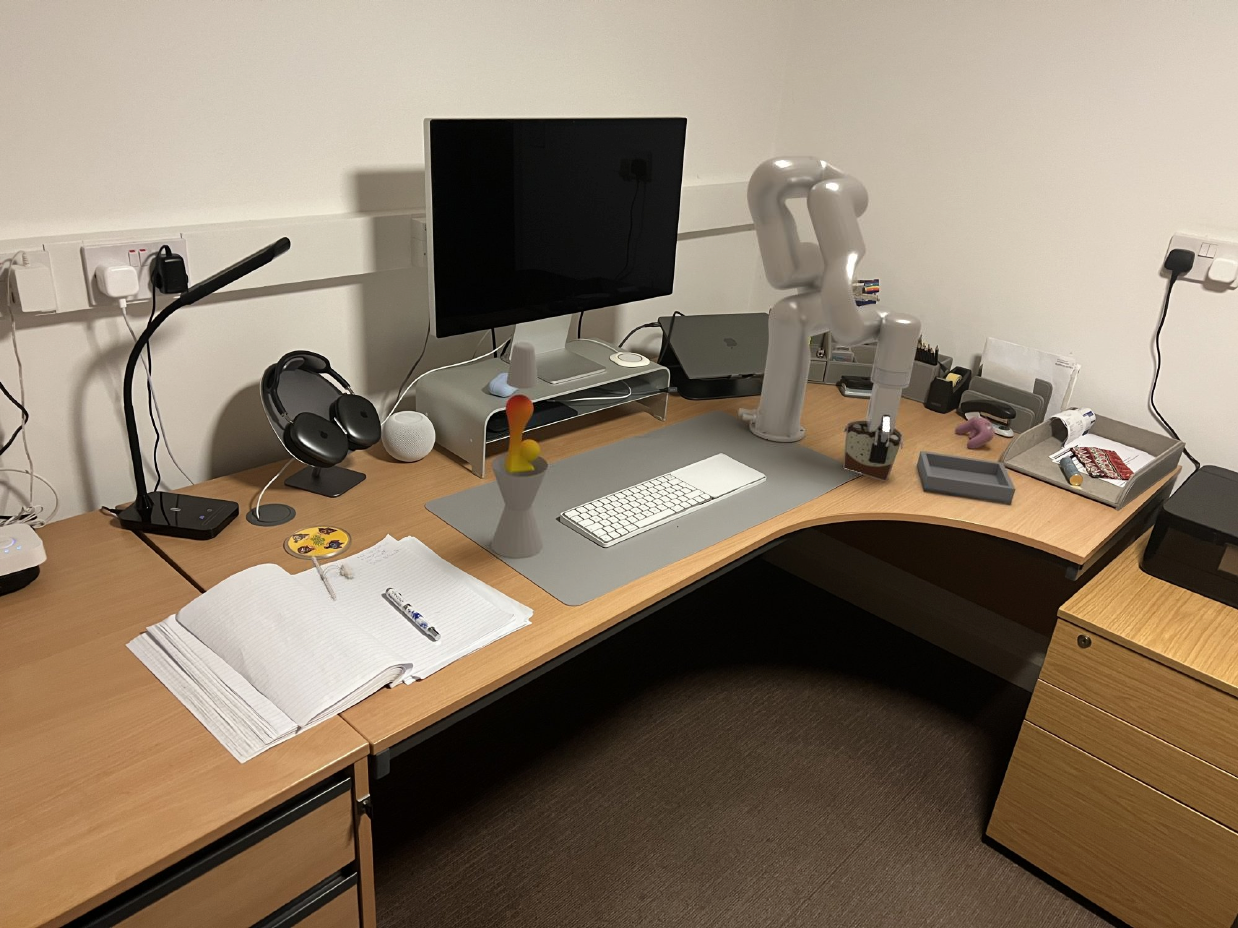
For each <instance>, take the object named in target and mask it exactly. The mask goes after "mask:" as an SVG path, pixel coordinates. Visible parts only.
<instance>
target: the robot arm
mask: <svg viewBox="0 0 1238 928" xmlns="http://www.w3.org/2000/svg"><path fill="white" fill-rule="evenodd" d="M746 198H747V205H748V206H747V207H748V209H749V213H750V216H751V219H752V222H753V225H754V229H755V232H756V237H757V243H758V247H759V251H760V257H761V260H762V265H763V269H764V274H765V277H766V279H767V283H768V284H769V286H770V287H772V288H773V289H775V290H779V291H788V290H793V289H796V290H797V293H796V294H791V295H789V296H786V297H783V298H781V299H779V300H778V301H777V302H775V304H773V306H772V307H771V310H770V312H769V315H768V322H767V324H768V347H767V354H766V361H765V362H766V363H765V369H764V374H763V381H762V387H761V395H760V399H759V401H760V402H759V405H757V408H756V409H755V408H753V409H747V408H742V407H739V408H738V414H737V417H742V420H743V421H749V422H750V423H749V430H750V432H752V434H754V435H755V436H757V437H759V438H762V439H764V440H767V439H768V441H771V442H772V441H773V442H779V443H792V442H797V441H800V440H802V439H803V438H805V434H806V429H805V428H804V427H803V425H801V424H800V423H801V416H802V413H803V408H804V407H803V406H804V401H805V395H806V394H805V393H806V390H807V383H808V378H809V373H810V366H811V358H812V356H811V355H812V353H811V347H810V342H809V340H810V338H811V337H813V336H818V335H822V334H824V333H827V332H830V334H831V336H832V338H833V339H834V340H835V342H836V343H837V344H838V345H841V346H843V347H847V348H853V347H854V348H855V347H858V346H861V345H865V344H868V343H870V344H871V343H875V342H876V343H877V345H876V349H875V352H874V353H875V355H874V358H873V365H872V370H871V375H870V382H871V383H873V385H872V389H871V393H870V398H869V402H868V407H867V412H866V416H865V419H866V420H865V421H866V422H867V428H868V430H869V432H872V431H873V432H875V438H874V443H872V447H871V452H870V457H869V462H871V463H879V464H885V462H886V457H887V452H888V447H889V435H890V434H892V433H893V431H894V428H895V427H896V422H897V419H898V418H897V417H898V413H899V409H900V404H901V403H900V402H901V399H902V398H901V397H902V392H903V389H906V388H908V387H909V385H910V381H911V376H912V371H913V367H914V361H915V358H916V353H917V349H918V348H917V347H918V343H919V338H920V334H921V329H922V328H921V327H922V323H921V320H920V319H919V318H918V317H917V316H915V315H911V314H907V313H901V312H897V311H895V310H892V309H890V308H888V307H886V306H884V305H881V304H878V303H877V304H876V303H870V304H865V305H861V306H857V303H856V300H855V295H854V290H853V278H854V274H855V271H856V269H857V267H858V265H859V264H860V262H861V261H862V259H863V258H864V256H865V255H866V251H867V248H866V244H865V241H864V238H863V235H862V232H861V229H860V226H859V222H858V218H860V217H862V216H863V215H864V213H865V212H866V210H867V208H868V205H869V194H868V191H867V189H866V187H865V186H864V184H863V183H862V182H861V180H859V179H858V178H857V177H854V175H852V174H849V173H847V172H846V171H844V170H842V169H840V168H839V167H836V166H835V165H833V164H831V163H829V162H827V161H826V160H824V159H822V158H819V157H817V156H814V155H813V156H812V155H787V156H785V155H783V156H782V155H781V156H776V157H772V158H769V159H766V160H765V161H763V162H762V163H760V164H759V165H758V166H757V167H756V168H755V170H754V171H753V172H752V175H751V176H750V179H749V181H748V186H747V191H746ZM803 198H806V207H807V211H808V214H809V217H810V221H811V224H812V227H813V230H814V234H815V236H816V240H817V243H814V242H811V241H804V242H801V240H800V236H799V233H798V227H797V224H796V223H797V222H796V220H795V218H794V215H793V214H792V212H791V210H790V209H789V207H788V206H787V205H786V201H787V199H788V200H789V199H803ZM878 429H882V430H878ZM878 434H880V435H881V436H879V437H878Z"/></svg>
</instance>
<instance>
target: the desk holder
mask: <svg viewBox="0 0 1238 928" xmlns="http://www.w3.org/2000/svg"><path fill="white" fill-rule="evenodd" d="M916 467H917V471H918V475H919V479H920V482H921V486H922V490H923V492H925V493H932V494H938V495H944V496H950V497H958V498H964V499H972V500H975V501H976V500H977V501H985V502H990V503H997V504H1003V505H1012V502H1013V499H1014V495H1015V492H1016V486H1015V485H1014V484H1013V481H1012V479H1011V476H1010V475H1009V473H1008V471H1007V469H1006V466H1005V464H1004V463H1003V462H1002V461H1001V462H1000V461H999V462H998V461H992V460H986V459H979V458H974V457H967V456H958V455H953V454H945V453H939V452H932V451H925V450H920V452H919V455H918V459H917V464H916Z"/></svg>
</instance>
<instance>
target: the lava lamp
mask: <svg viewBox="0 0 1238 928" xmlns="http://www.w3.org/2000/svg"><path fill="white" fill-rule="evenodd" d="M536 361H537V360H536V353H535V347H534V344H532V343H530V342H526V341H525V342H524V341H520V342H516V343H515V344H514V345H513V347H512V352H511V355H510V362H509V367H508V373H507V377H506V384H507V385H508V386H510V387H512V388H515V389H523V390H524V389H525V390H526V389H527V390H528V389H533V388H536V387H538V386H539V377H538V369H537V362H536ZM505 412H506V413H505V414H506V417H507V421H508V426H509V427H508V429H509V445H508V452H507V453H504V454H503V453H502V454H500V455H498V456H496V457H495V458H494V459H492V461H491V468H492V471H493V474H494V477H495V479H496V482H497V485H498V488H499V491H500V493H501V496H502V499H503V502H504V505H505V506H504V507H503V510H502V512H501V516H500V518H499V521H498V524H497V527H496V529H495V532H494V535H493V538H492V540H491V543H490V545H491V549H492V551H494V552H495V553H497V554H498V555H500V556H502V557H505V558H506V557H507V558H510V559H525V558H529V557H534V556H536V555H537V554H539V553H540V552H541V551H542V550H543V548H544V543H543V540H542V537H541V532H540V530H539V526H538V524H537V519H536V516H535V513H534V510H533V503H534V501H535V499H536V496H537V494H538V491H539V489H540V487H541V485H542V483H543V481H544V477H545V475H546V472H547V469H548V467H549V465H548V464H549V463H548V462H547V460H545V459H544V458H543V457H541V456H540V455H541V454H540V453H541V447H540V444H538V442H537V441H535V440H533V439H525V440H522V439H523V433H524V431H525V428H526V426H527V424H528V423H529V420H530V419H531V417H532V416H533V413H534V404H533V402H532V400H531V399H530V398H529V397H528V396H526V395H524V394H514V395H512V396H511V397H510V398H509V399H508V400H507V401H506V404H505Z"/></svg>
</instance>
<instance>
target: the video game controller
mask: <svg viewBox="0 0 1238 928" xmlns="http://www.w3.org/2000/svg"><path fill="white" fill-rule="evenodd" d="M993 427H994V426H993V425H992V423H991V421H990V420H988V419H987V418H986V417H985V418H984V417H983V416H979V415H975V416H974V417H971V418H969V419H968V420H966V421H964V422H963V423H960V424H959V425H957V426H956V427H955V429H954V433H955V434H957V435H964V434H968V433H969V435H968V437H969V438H970V439H969V440H968V442H967V443H966V447H967V448H968V449H978V448H980V447H982V446H984V445H985V444H986V443H989V442H991V441H992V440H993V438H994V437H995V435H996V434H995V432H996V431H995V430H994V428H993Z"/></svg>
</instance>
